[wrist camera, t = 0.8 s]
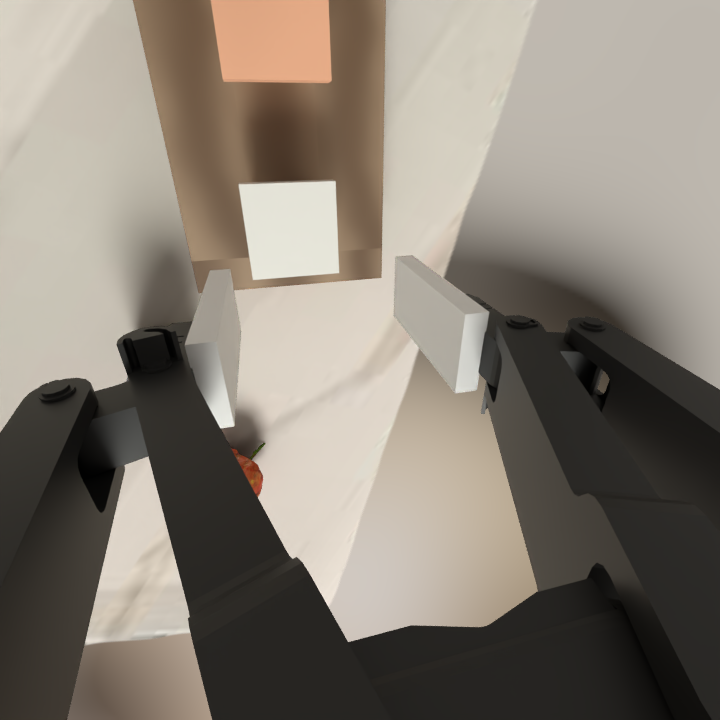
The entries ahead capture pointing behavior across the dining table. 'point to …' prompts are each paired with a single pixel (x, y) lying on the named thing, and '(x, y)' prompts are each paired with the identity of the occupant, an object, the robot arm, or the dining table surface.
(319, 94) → the brown boxy piece
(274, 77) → the terracotta key
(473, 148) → the dining table surface
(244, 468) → the red round fruit
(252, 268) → the white block
